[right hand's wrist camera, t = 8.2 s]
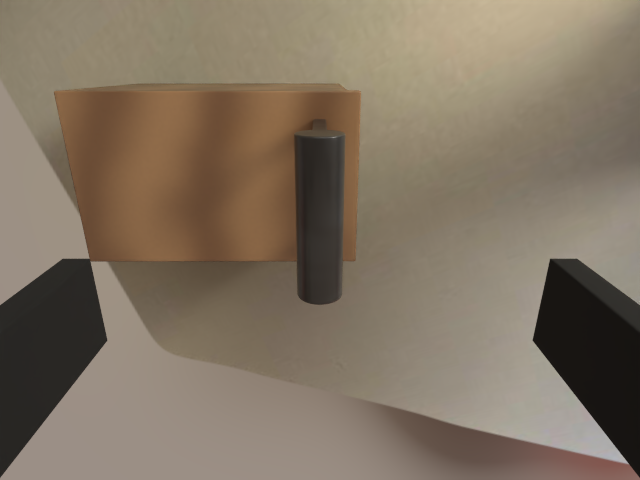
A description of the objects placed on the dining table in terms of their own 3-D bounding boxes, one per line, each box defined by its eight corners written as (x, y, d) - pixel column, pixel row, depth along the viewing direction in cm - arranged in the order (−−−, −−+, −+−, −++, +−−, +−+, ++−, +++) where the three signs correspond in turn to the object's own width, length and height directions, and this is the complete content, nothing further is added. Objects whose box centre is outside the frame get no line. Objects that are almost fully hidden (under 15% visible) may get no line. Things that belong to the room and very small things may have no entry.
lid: (359, 90, 24) (379, 101, 16) (354, 255, 28) (368, 330, 20) (62, 90, 24) (-63, 101, 16) (97, 255, 28) (8, 330, 20)
